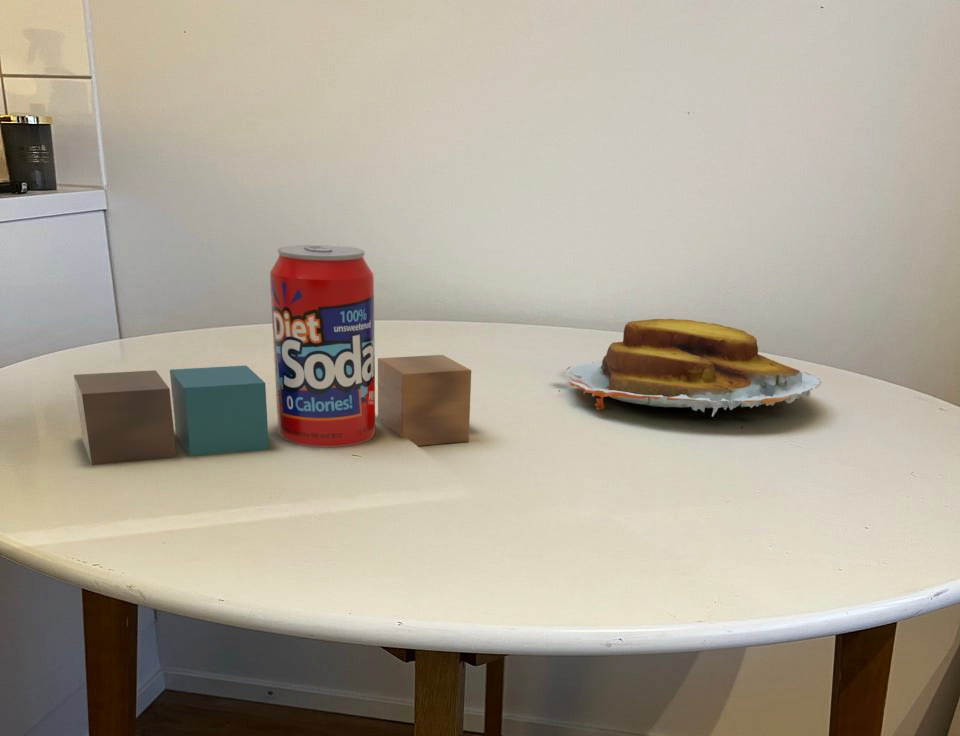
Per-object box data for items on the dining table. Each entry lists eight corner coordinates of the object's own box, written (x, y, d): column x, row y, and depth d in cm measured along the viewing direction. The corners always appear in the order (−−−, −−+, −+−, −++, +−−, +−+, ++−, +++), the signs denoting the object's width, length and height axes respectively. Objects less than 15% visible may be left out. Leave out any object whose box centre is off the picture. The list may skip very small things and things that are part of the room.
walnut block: (93, 476, 74) (81, 393, 71) (84, 452, 79) (73, 374, 76) (177, 468, 76) (169, 388, 73) (164, 446, 81) (156, 370, 78)
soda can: (353, 426, 88) (350, 241, 81) (390, 451, 82) (390, 254, 75) (266, 435, 85) (254, 243, 78) (297, 462, 79) (288, 256, 72)
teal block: (191, 467, 77) (183, 387, 74) (176, 445, 81) (169, 369, 79) (269, 460, 79) (265, 382, 76) (251, 438, 84) (246, 365, 81)
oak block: (402, 447, 83) (402, 374, 80) (377, 428, 88) (377, 358, 85) (469, 441, 85) (471, 369, 83) (441, 423, 90) (443, 354, 88)
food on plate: (593, 434, 89) (600, 358, 86) (537, 370, 111) (541, 308, 108) (864, 433, 93) (880, 360, 90) (758, 371, 114) (768, 311, 111)
